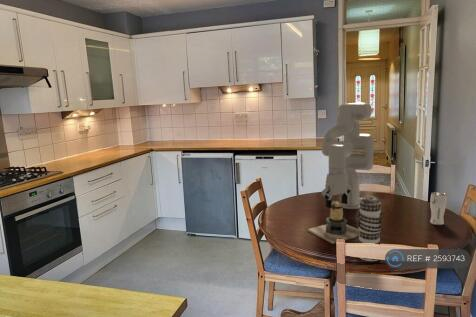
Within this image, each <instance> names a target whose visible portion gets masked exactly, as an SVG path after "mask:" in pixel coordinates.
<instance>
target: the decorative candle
mask: <svg viewBox="0 0 476 317" xmlns="http://www.w3.org/2000/svg"><path fill="white" fill-rule="evenodd" d="M362 198H363V199H362V200H360V208H359V210H358V211H357V218H358V220H357V221H358V224H357V225H358V229H359V230H360V235H359V237H358V240H357V243H375V244H379V245H381V241H380V239H381V238H380V232H381V229H382V225H381V224H382V223H383V222H382V220H383V218H382V215H383V211H381V210H382V209H381V204H382V201H380V200H379V198H378V197H376V196H373V195H372V196H369V195H368V196H364V197H362ZM359 259H361V260H363V261H366V262H377V261H378V260H372V259H364V258H359Z"/></svg>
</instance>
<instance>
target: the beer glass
mask: <svg viewBox="0 0 476 317" xmlns="http://www.w3.org/2000/svg"><path fill="white" fill-rule="evenodd" d="M430 194H431V195H430V200H429V203H430V204H429V205H430V206H429V207H430V211H431V212H430V213H431V214H430V220H429V222H430V224H432V225H436V226H442V225H444V224H445V222H444V215H445V211H446V207H447V193H444V192H440V191H439V192H438V191H437V192H436V191H434V192H431V193H430Z"/></svg>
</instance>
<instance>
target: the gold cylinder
mask: <svg viewBox="0 0 476 317" xmlns="http://www.w3.org/2000/svg"><path fill="white" fill-rule="evenodd" d="M343 209H344V208H343V203H342V201H341V200H340V201H339V200H332V208H330V216H329V217H330V221H331V222H337V223H340V222H343V218H344V217H343V216H344V210H343ZM332 229H336V230H340V227H337V226H332Z"/></svg>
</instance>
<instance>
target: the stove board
mask: <svg viewBox="0 0 476 317" xmlns="http://www.w3.org/2000/svg"><path fill="white" fill-rule="evenodd" d="M326 225H327V224H321V225H318V226H315V227H311V228H308V229H307V232H309V233H310V234H313V235H314V236H317V237H319V238H321V239H323V240H325V241H326V242H328V243H331V245H334V244H337V243H336V239H337V238H342V239H345V241H348V240H351V239H352V240H353V239H355V238H359V235H360V230H359V228H357V227H354V226H351V225H349V224H347V225H345V226H347V232H346V233H345V234H341V235H336V234H330V233H328V232H326Z"/></svg>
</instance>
